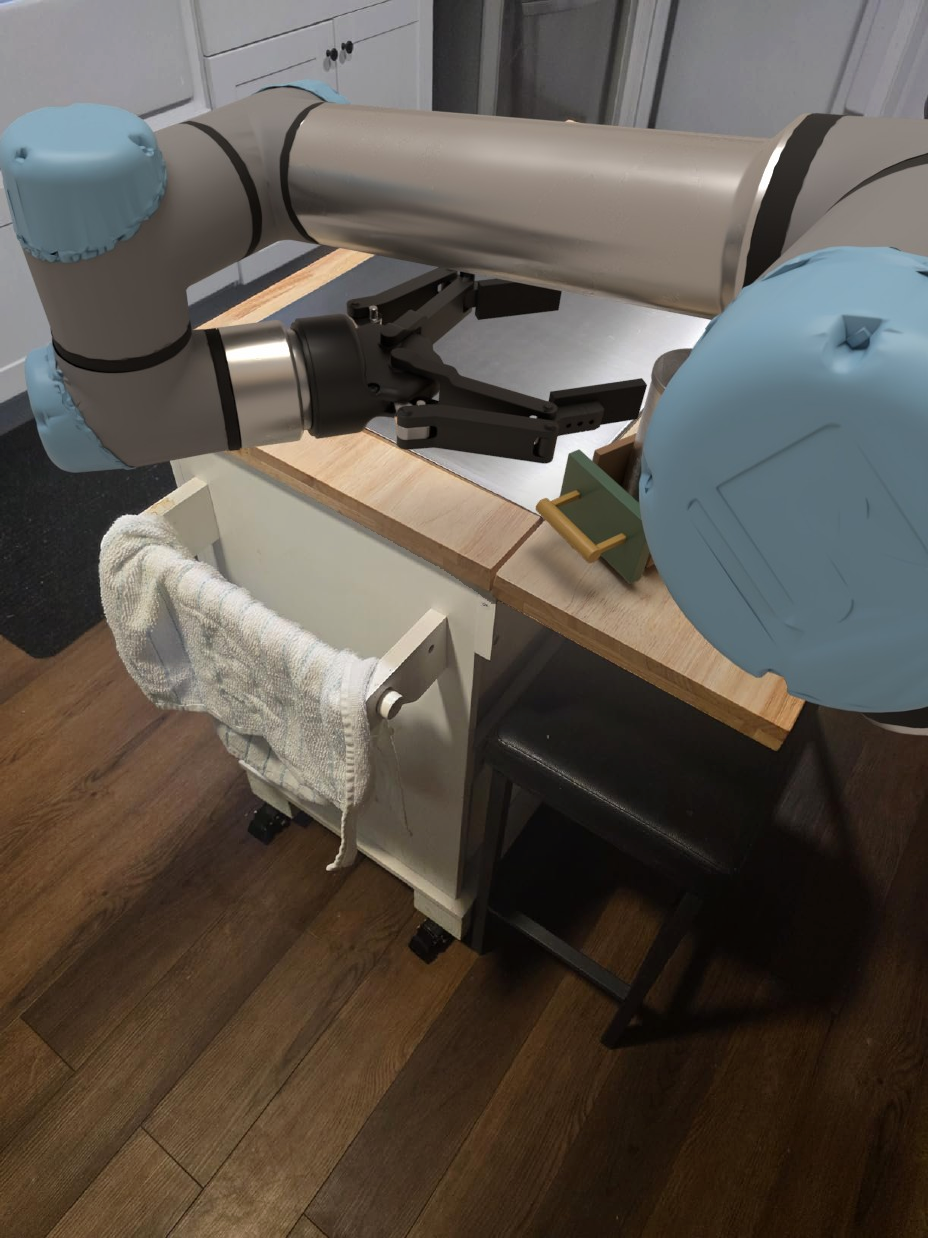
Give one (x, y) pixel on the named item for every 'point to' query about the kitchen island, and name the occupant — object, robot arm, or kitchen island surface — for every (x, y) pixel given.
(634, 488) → the silver tall cylinder
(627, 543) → the drawer
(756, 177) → the robot arm
